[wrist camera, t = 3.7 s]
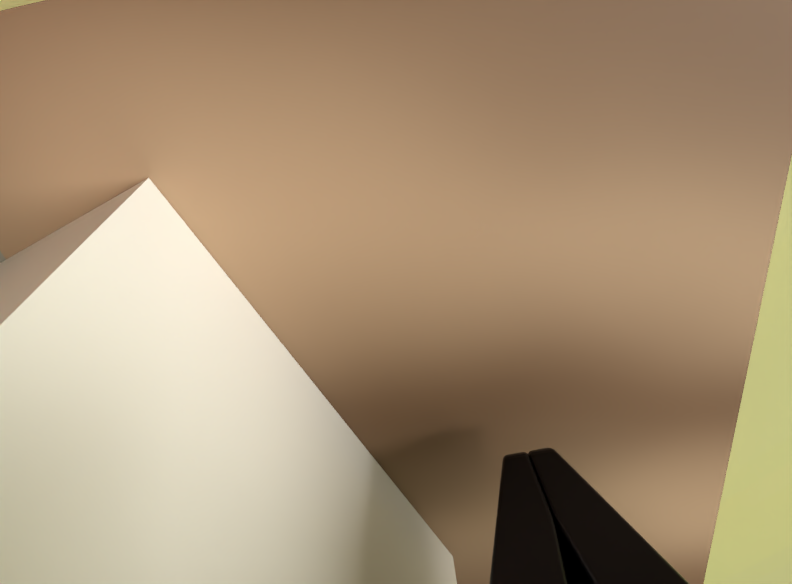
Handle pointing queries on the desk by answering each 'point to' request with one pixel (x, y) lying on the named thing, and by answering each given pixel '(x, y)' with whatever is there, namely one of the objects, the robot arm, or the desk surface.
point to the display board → (450, 216)
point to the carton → (175, 427)
